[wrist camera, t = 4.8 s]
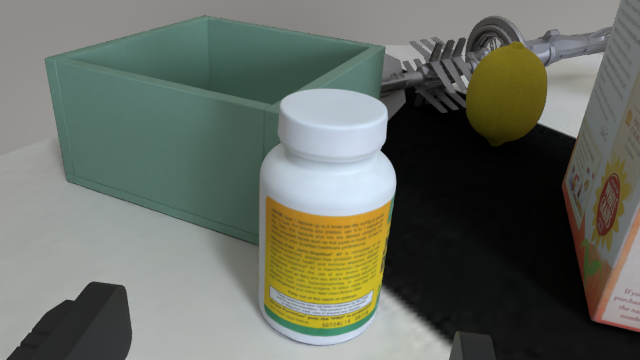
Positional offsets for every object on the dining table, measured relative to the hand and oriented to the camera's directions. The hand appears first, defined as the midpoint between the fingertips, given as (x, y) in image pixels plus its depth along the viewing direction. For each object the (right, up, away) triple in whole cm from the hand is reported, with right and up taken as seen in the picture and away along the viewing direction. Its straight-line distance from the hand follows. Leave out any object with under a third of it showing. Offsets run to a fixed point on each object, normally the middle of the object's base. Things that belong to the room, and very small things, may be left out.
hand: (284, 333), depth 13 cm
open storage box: (-5, +5, +23) cm, 24 cm away
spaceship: (+16, +11, +37) cm, 42 cm away
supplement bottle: (+1, -2, +12) cm, 12 cm away
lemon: (+14, +6, +29) cm, 33 cm away
